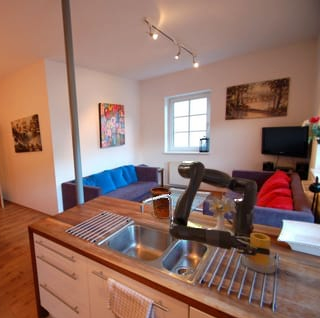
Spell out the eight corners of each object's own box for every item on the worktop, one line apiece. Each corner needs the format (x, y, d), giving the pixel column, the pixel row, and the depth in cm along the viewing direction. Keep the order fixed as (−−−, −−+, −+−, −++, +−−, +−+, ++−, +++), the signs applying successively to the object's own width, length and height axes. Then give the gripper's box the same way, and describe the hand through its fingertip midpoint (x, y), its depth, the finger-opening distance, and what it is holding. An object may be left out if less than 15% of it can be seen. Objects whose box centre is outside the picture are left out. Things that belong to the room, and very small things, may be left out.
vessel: (150, 218, 148) (149, 192, 146) (151, 210, 161) (151, 186, 159) (171, 220, 143) (171, 193, 140) (171, 212, 156) (170, 187, 153)
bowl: (235, 256, 100) (235, 249, 99) (262, 257, 98) (263, 249, 98) (252, 273, 88) (253, 265, 88) (284, 274, 86) (284, 265, 86)
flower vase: (207, 245, 111) (207, 202, 107) (208, 230, 126) (208, 192, 122) (236, 252, 103) (238, 205, 100) (234, 235, 118) (235, 194, 115)
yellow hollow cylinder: (245, 256, 87) (247, 232, 85) (261, 256, 86) (262, 232, 84) (256, 265, 81) (257, 240, 79) (272, 265, 80) (274, 240, 79)
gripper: (218, 238, 84) (273, 248, 75) (217, 223, 96) (264, 231, 87) (218, 254, 85) (271, 267, 76) (216, 238, 97) (263, 247, 88)
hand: (267, 247), depth 81 cm, fingers closed on yellow hollow cylinder, 6 cm apart
